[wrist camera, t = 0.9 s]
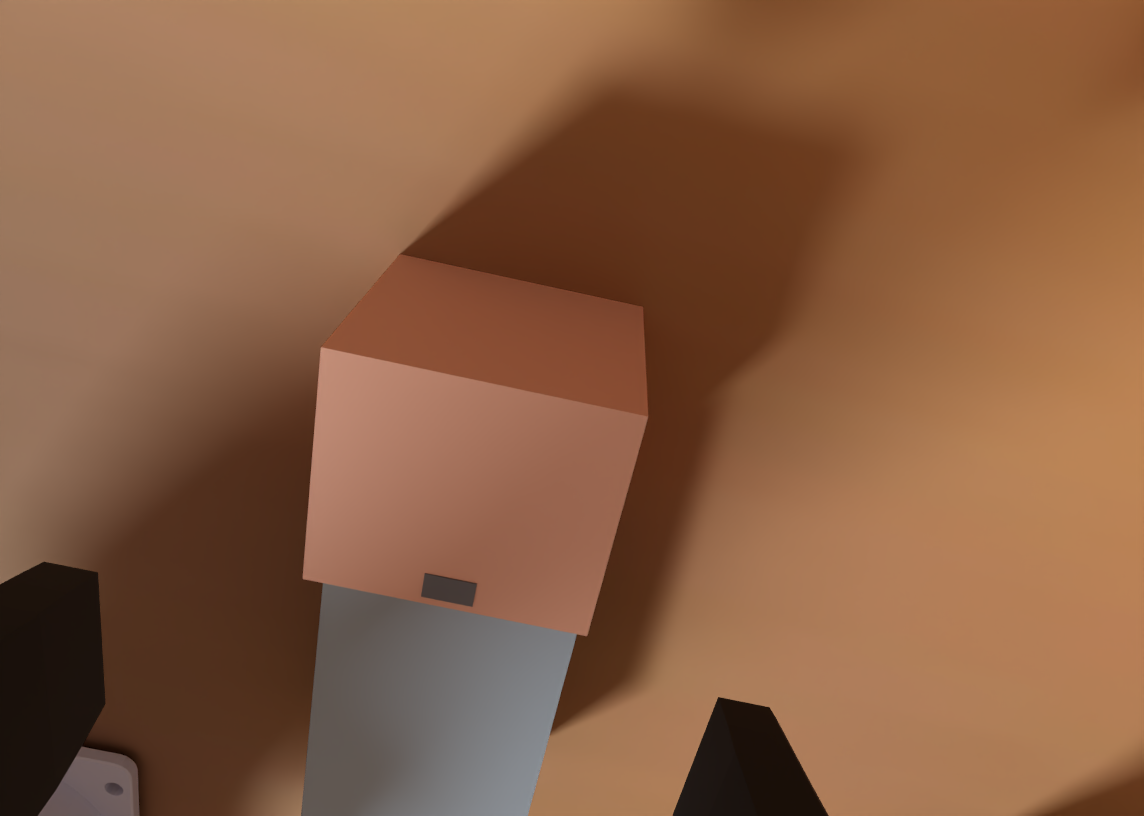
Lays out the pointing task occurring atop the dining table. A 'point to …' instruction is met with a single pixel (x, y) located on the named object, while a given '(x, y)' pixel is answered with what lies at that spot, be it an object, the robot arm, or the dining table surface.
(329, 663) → the slotted gray housing
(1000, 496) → the dining table surface
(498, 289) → the stub
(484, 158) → the dining table surface
